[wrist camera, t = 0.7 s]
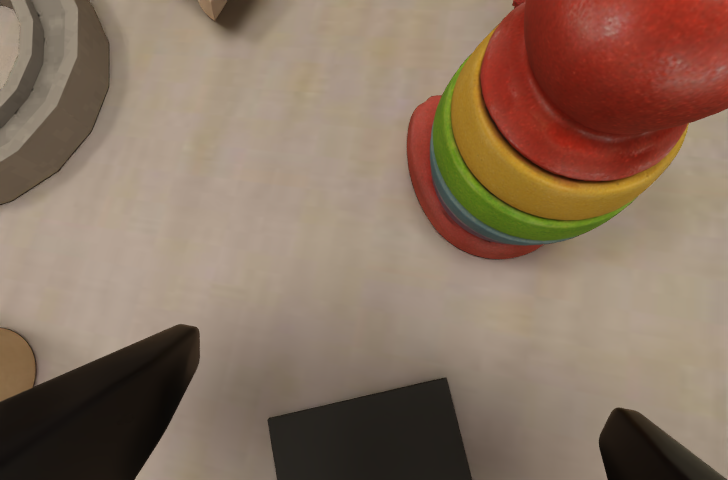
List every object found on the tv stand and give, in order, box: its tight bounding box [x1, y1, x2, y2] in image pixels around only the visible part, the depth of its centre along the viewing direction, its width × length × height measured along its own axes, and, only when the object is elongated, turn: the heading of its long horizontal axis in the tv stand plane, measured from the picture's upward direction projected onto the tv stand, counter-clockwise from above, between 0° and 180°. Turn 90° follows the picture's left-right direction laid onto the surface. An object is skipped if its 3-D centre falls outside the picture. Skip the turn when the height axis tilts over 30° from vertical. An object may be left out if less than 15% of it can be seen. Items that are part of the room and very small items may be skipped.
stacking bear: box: [407, 0, 728, 259], centre depth 17 cm, size 11×10×18 cm
